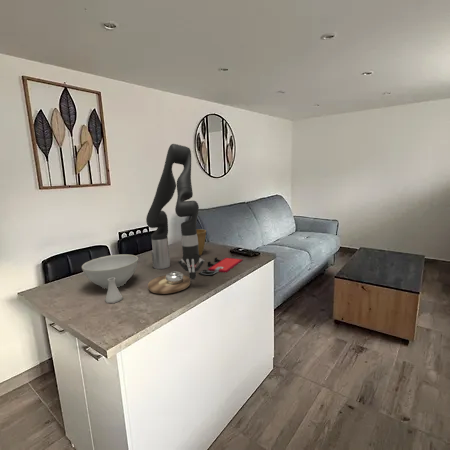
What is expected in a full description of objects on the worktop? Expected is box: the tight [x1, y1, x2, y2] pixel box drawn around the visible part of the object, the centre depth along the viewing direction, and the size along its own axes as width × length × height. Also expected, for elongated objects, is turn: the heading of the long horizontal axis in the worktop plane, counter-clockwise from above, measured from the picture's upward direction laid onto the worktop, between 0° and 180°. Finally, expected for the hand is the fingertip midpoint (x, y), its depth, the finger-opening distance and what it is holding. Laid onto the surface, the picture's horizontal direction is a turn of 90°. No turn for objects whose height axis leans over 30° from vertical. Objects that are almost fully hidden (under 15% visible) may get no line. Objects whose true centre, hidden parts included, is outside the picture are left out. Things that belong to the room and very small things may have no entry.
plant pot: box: [196, 228, 207, 256], centre depth 194 cm, size 15×15×16 cm
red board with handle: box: [198, 257, 243, 276], centre depth 167 cm, size 30×3×15 cm
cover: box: [165, 270, 184, 285], centre depth 141 cm, size 8×8×5 cm
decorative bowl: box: [81, 253, 139, 290], centre depth 149 cm, size 27×27×12 cm
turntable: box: [147, 274, 191, 295], centre depth 142 cm, size 20×20×3 cm
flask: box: [104, 278, 124, 304], centre depth 130 cm, size 7×7×10 cm
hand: (193, 279), depth 139 cm, fingers closed
